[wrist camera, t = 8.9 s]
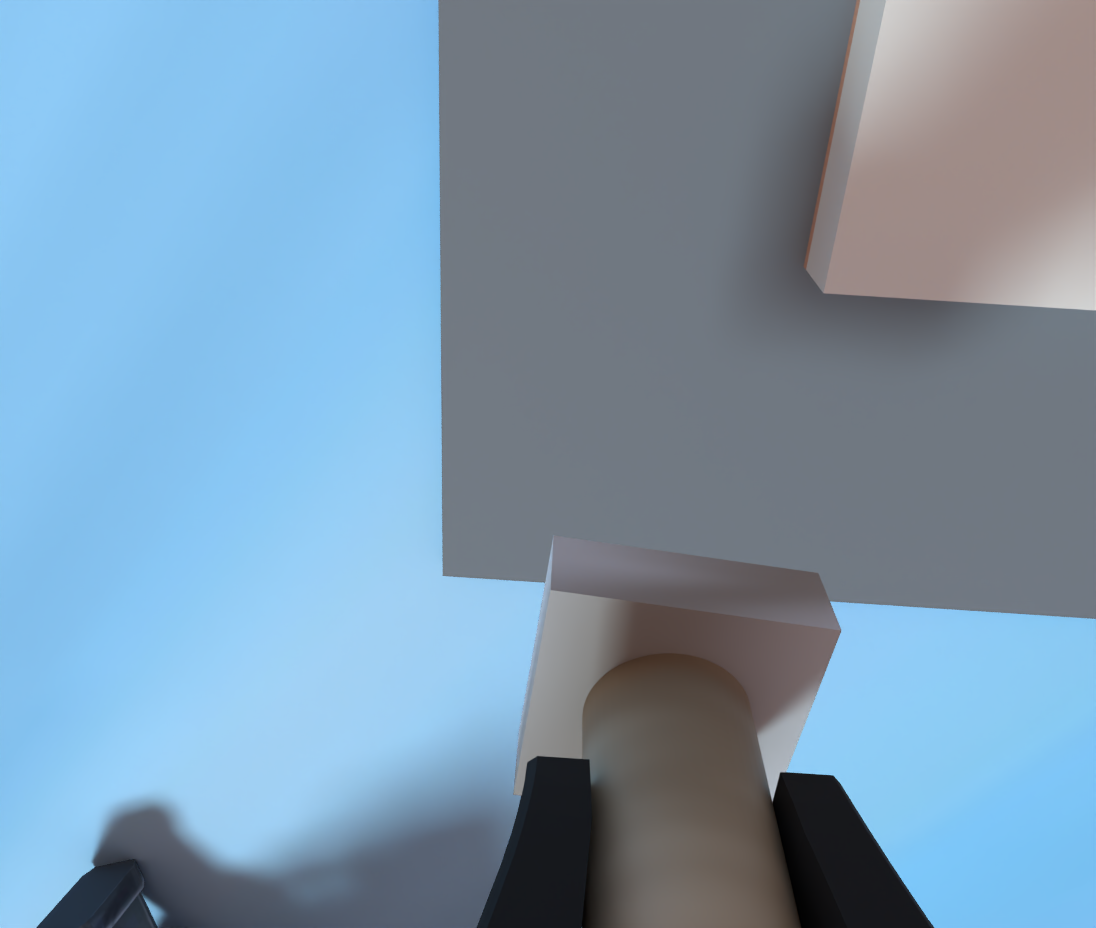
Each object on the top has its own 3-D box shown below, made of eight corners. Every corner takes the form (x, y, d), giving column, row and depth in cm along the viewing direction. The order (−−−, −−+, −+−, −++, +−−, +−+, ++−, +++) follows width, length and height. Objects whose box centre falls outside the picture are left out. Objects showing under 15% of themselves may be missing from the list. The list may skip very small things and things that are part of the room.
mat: (1938, -316, 12) (1980, -325, 11) (1342, 624, 20) (1355, 635, 19) (439, -403, 12) (435, -414, 11) (445, 565, 20) (442, 575, 19)
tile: (1197, 291, 16) (1407, -197, 12) (1252, 320, 14) (1505, -217, 11) (803, 266, 16) (901, -226, 12) (823, 293, 14) (939, -250, 11)
